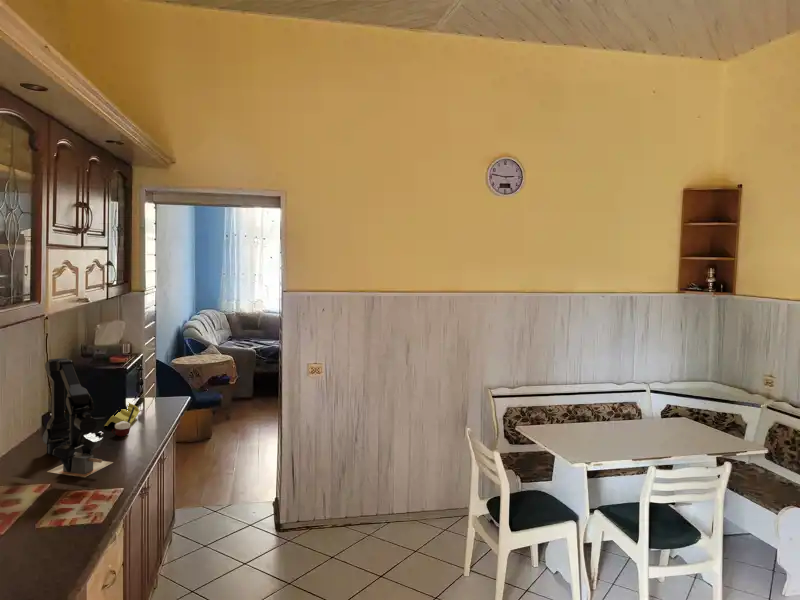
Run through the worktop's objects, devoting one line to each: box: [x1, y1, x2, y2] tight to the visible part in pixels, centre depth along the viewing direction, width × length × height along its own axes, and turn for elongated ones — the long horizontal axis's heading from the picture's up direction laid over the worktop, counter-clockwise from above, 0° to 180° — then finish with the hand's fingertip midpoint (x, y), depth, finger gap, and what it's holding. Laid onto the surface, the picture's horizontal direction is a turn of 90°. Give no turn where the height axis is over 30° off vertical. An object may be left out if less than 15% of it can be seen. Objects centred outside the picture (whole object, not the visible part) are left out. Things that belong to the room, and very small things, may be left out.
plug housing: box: [63, 451, 103, 475], centre depth 226 cm, size 14×4×6 cm, turn 79°
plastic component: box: [104, 402, 140, 427], centre depth 295 cm, size 20×7×10 cm
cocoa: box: [111, 407, 135, 437], centre depth 274 cm, size 10×6×12 cm, turn 109°
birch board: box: [46, 460, 114, 478], centre depth 232 cm, size 16×16×2 cm
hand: (78, 467), depth 227 cm, fingers open, 9 cm apart
